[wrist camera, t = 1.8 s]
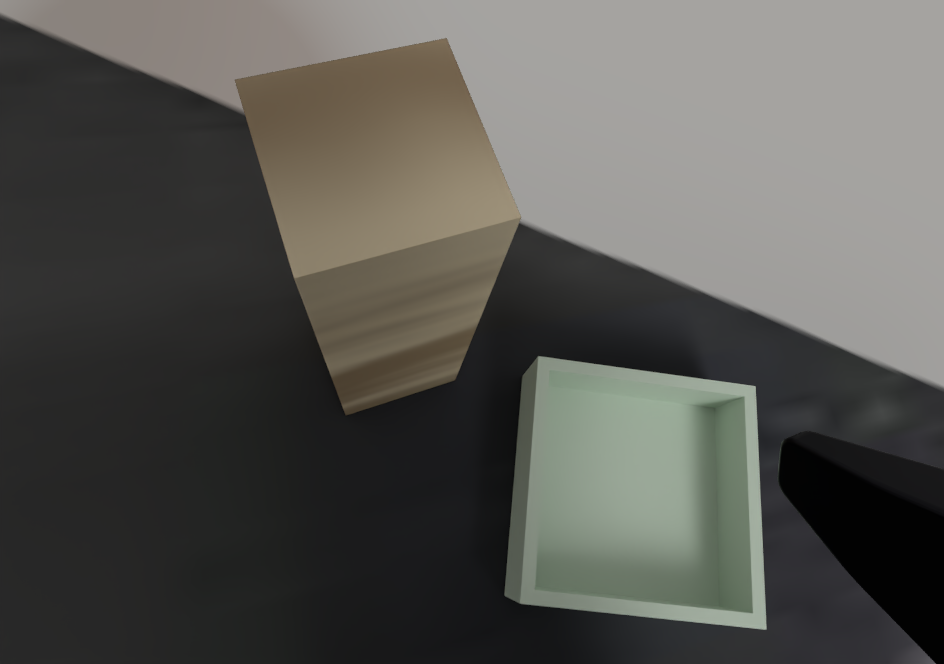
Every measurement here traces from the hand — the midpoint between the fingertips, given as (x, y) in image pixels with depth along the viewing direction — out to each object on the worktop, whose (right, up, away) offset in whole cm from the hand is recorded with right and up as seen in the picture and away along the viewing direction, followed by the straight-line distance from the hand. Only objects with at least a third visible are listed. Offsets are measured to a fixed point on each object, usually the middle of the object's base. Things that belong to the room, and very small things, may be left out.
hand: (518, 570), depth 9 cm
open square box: (+4, -2, +13) cm, 14 cm away
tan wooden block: (-4, +3, +14) cm, 14 cm away
